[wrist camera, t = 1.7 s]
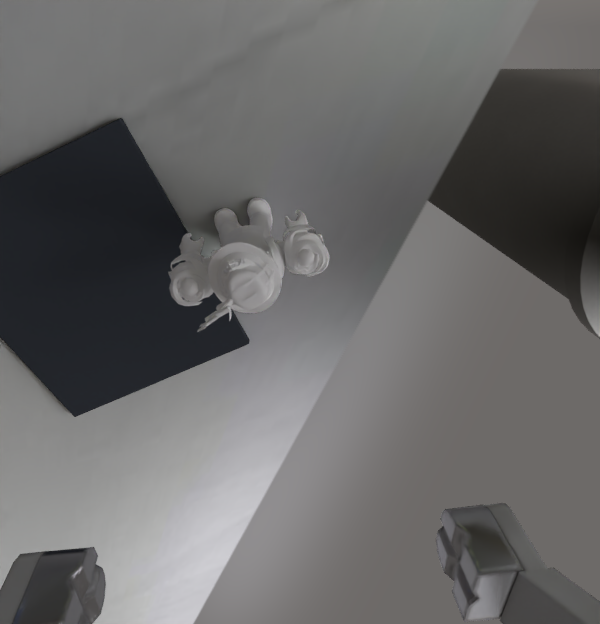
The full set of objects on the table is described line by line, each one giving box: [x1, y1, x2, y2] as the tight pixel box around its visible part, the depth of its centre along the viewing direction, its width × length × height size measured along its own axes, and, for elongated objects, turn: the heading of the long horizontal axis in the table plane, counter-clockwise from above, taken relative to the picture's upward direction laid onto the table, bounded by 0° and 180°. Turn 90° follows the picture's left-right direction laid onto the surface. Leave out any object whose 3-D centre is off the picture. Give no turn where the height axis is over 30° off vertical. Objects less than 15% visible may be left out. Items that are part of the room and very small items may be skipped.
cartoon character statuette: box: [168, 198, 330, 332], centre depth 26 cm, size 9×4×12 cm, turn 102°
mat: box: [0, 118, 249, 417], centre depth 32 cm, size 16×18×1 cm
